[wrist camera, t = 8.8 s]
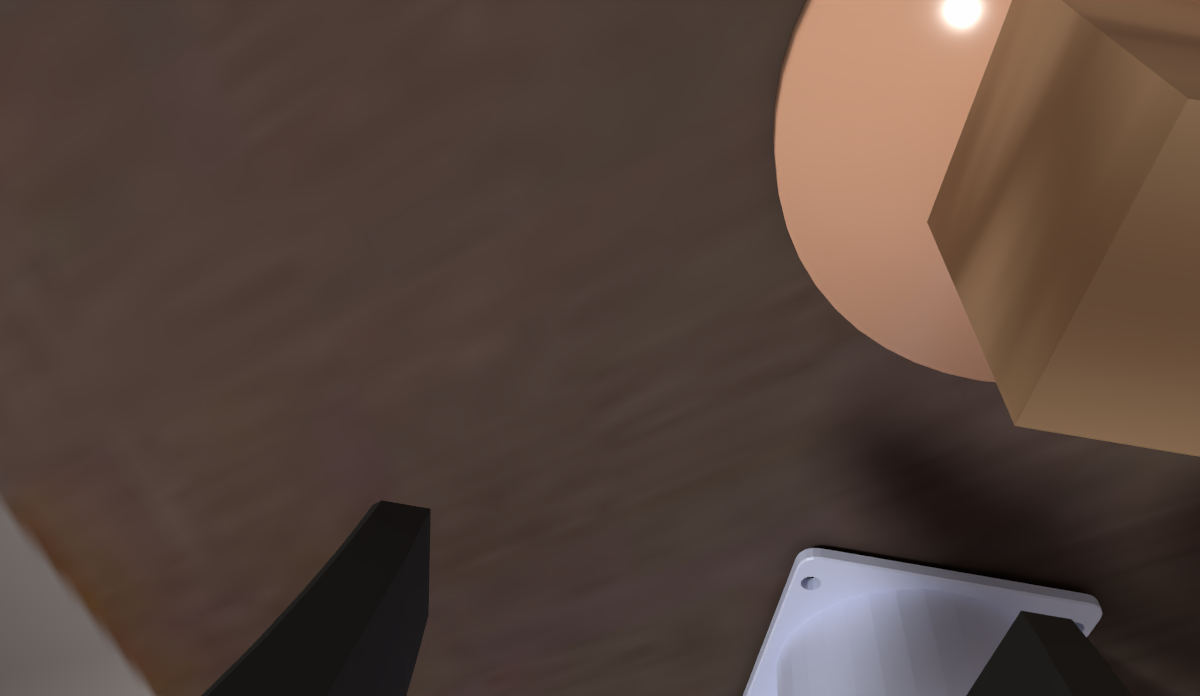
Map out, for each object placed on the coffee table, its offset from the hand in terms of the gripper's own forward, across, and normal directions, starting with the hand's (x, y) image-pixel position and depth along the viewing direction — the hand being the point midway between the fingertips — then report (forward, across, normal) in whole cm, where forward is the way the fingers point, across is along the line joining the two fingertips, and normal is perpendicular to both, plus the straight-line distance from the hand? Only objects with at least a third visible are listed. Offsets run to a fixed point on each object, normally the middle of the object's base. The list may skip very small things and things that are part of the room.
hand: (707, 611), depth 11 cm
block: (+8, -6, -4) cm, 11 cm away
